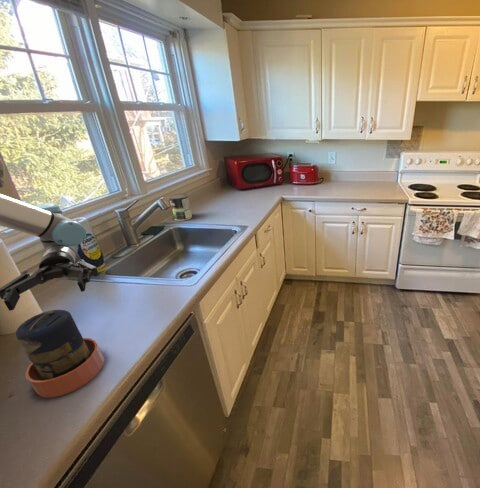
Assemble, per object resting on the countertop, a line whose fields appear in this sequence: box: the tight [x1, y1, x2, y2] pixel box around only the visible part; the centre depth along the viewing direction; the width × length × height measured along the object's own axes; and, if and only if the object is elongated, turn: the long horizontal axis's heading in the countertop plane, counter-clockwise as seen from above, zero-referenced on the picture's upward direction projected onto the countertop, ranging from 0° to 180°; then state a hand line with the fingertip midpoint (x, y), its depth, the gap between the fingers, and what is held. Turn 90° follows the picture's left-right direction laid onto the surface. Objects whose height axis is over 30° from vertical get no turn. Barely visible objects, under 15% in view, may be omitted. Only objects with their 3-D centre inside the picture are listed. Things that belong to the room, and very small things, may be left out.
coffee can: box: [168, 193, 193, 222], centre depth 171 cm, size 10×10×14 cm
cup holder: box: [25, 337, 105, 398], centre depth 70 cm, size 13×13×6 cm
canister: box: [15, 309, 92, 381], centre depth 67 cm, size 10×10×18 cm
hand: (46, 296), depth 70 cm, fingers open, 13 cm apart
